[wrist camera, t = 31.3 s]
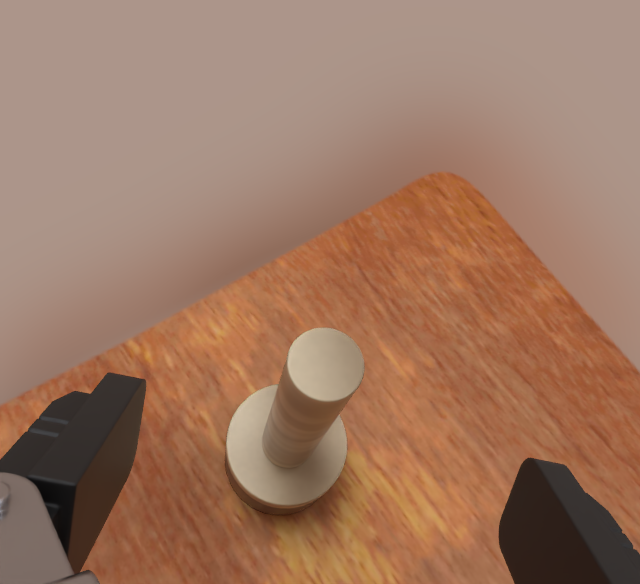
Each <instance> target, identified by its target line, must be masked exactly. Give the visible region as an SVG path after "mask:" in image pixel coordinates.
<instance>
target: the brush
mask: <svg viewBox="0 0 640 584" xmlns="http://www.w3.org/2000/svg"><path fill="white" fill-rule="evenodd" d="M363 375H364V359H363V356H362V353H361V351H360V349H359V347H358V346H357V344H356V343H355V342H354V341H353V340H352V339H351V338H350V337H349V336H348V335H346V334H345V333H343V332H341V331H339V330H336V329H332V328H315V329H311V330H308V331H306V332H304V333H303V334H301V335H300V336H299V337H298V338H297V339H296V340H295V341H294V342H293V344H292V345H291V347H290V349H289V352H288V355H287V358H286V362H285V365H284V368H283V371H282V374H281V378H280V381H279V384H276V385H271V386H268V387H265V388H262V389H260V390H258V391H256V392H255V393H253V394H252V395H250V396H249V397H248V398H247V399H246V400H244V401H243V403H242V404H241V405H240V406H239V407H238V409H237V410H236V412H235V413H234V415H233V417H232V419H231V422H230V424H229V427H228V432H227V438H226V450H225V467H226V472H227V476H228V479H229V481H230V484H231V486H232V488H233V489H234V491H235V492H236V494H237V495H238V496H239V497H240V498H241V499H242V500H243V501H244V502H245V503H246V504H248V505H249V506H251V507H252V508H254V509H256V510H258V511H260V512H264V513H267V514H273V515H287V514H292V513H296V512H299V511H301V510H303V509H305V508H307V507H309V506H310V505H312V504H313V503H314V502H315V501H317V500H318V499H319V498H320V497H321V496H322V495H323V494H324V493H325V492H327V491H328V490H329V489H330V487H331V486H332V485H333V484H334V483H335V481H336V480H337V479H338V477H339V475H340V473H341V472H342V469H343V467H344V464H345V460H346V455H347V436H346V431H345V427H344V424H343V422H342V419H341V417H340V415H339V414H340V413H341V411H342V410H343V408H344V407H345V405H346V404H347V403H348V401H349V400H350V398H351V397H352V395H353V394H354V393H355V391H356V390H357V388H358V387H359V385H360V383H361V381H362V379H363Z"/></svg>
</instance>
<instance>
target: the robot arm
mask: <svg viewBox="0 0 640 584" xmlns="http://www.w3.org/2000/svg"><path fill="white" fill-rule="evenodd" d="M145 392H146V380H144V379H139V378H135V377H130V376H125V375H120V374H115V373H107V374H106V375H105V377H104V378H103V379H102V380H101V382H100V383H99V384H98V385H97V387H96V388H95V389H94V391H93V392H92V393H91V394H88V393H83V392H78V391H74V392H71V393H69V394H67V395H65V396H63V397H61V398H59V399H57V400H55V401H53V402H52V403H51V404H50V405H49V406H48V407H47V408H46V410H45V411H44V412H43V413H42V414H41V415H40V417H39V419H37V420H36V421H35V422H34V423H33V424H32V425H31V426H30V427H29V429H28V432H25V433H24V434H23V435H22V436H21V437H20V439H19V440H18V441H17V442H16V443H15V444H14V445H13V446H12V447H11V449H10V450H9V451H8V452H7V453H6V454H5V455H4V456H3V458H2V459H1V460H0V584H100V583H99V581H98V579H97V577H96V576H95V575H94V573H93V572H92V571H90V570H86V571H83V572H80V571H81V569H82V567H83V565H84V563H85V561H86V559H87V557H88V555H89V553H90V551H91V549H92V547H93V545H94V543H95V541H96V539H97V537H98V535H99V533H100V531H101V529H102V528H103V526H104V524H105V522H106V520H107V518H108V516H109V514H110V512H111V510H112V508H113V506H114V504H115V502H116V500H117V498H118V496H119V494H120V492H121V490H122V488H123V486H124V484H125V482H126V480H127V478H128V476H129V474H130V471H131V468H132V465H133V462H134V458H135V454H136V449H137V444H138V437H139V431H140V424H141V418H142V412H143V405H144V399H145ZM499 545H500V549H501V552H502V554H503V556H504V559H505V561H506V564H507V566H508V568H509V571H510V573H511V576H512V578H513V580H514V583H515V584H640V554H639V553H638V552H637V550H634V549H633V545H632V543H631V542H630V541H629V539H628V538H627V536H626V535H625V534H623V533H622V529H621V528H620V527H619V525H618V524H617V523H616V521H615V520H614V518H613V517H612V516H611V514H610V513H609V511H607V510H606V509H605V508H604V507H603V506H602V505H600V504H599V503H598V502H597V501H596V500H595V499H593V498H592V497H591V496H590V495H589V494H588V493H585V492H584V490H583V489H582V487H581V486H580V485H579V483H578V482H577V480H576V479H575V477H574V476H573V475H572V473H571V472H570V470H569V469H568V468H567V466H565V465H563V464H558V463H553V462H548V461H544V460H539V459H534V458H527V459H526V460H525V461H524V462H523V463H522V465H521V467H520V469H519V472H518V474H517V477H516V480H515V482H514V485H513V488H512V490H511V493H510V496H509V498H508V501H507V504H506V506H505V509H504V512H503V514H502V517H501V520H500V525H499Z"/></svg>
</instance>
